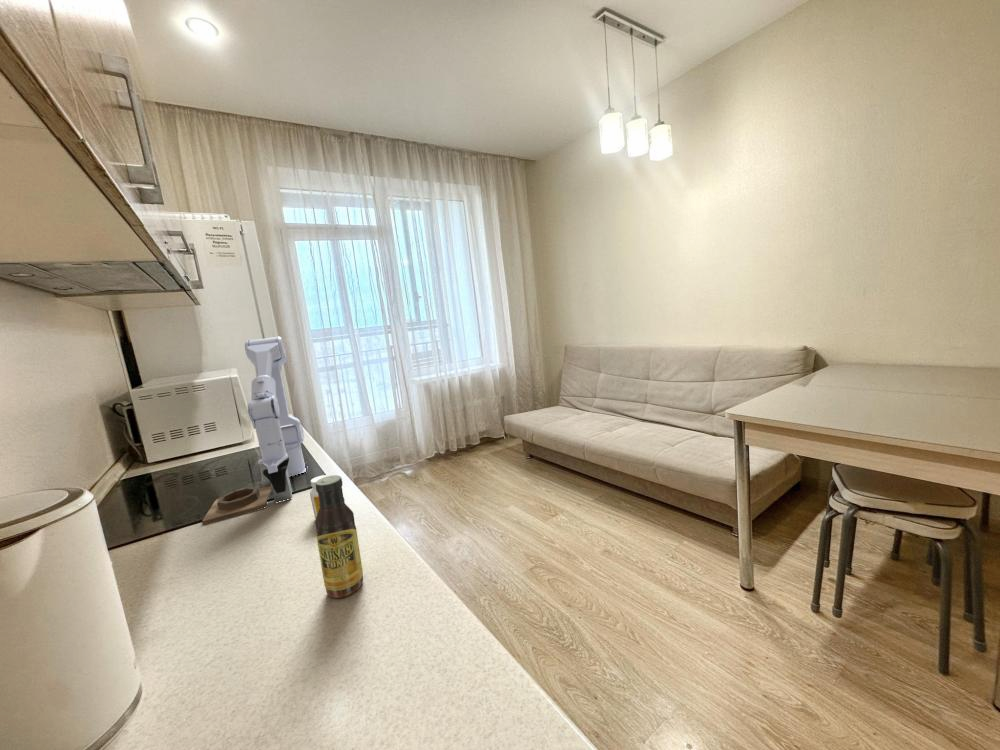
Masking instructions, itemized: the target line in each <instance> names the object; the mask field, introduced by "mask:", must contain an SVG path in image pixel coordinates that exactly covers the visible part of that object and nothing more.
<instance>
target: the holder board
mask: <svg viewBox="0 0 1000 750" xmlns="http://www.w3.org/2000/svg"><path fill="white" fill-rule="evenodd" d="M271 490H272V488H271V485H267V486H264V487H263V486H262V487H254V486H247V487H244V488H239V489H235V490H233V491H230V492H227V493H226V494H224V495H222V496H220V497H219V498H216V499H215V501H214V502H213V504H212V505H211V507H210V508H209V510H208V511H207V513H206V514H205V516H204V517H203V519H202V521H201V523H202V525H203V526H204V525H208V524H211V522H212V523H215V522H218V521H223V520H225V519H229V518H234V517H237V516H241V515H244V514H248V512H249V513H252V512H255V510H256V511H259V510H258V509H260V510H262V509H261V508H263V509H265V508H264V507H266V506H267V507H268V504H267V500H268V497H269V495H270V492H271ZM271 493H272V492H271ZM270 496H271V495H270ZM267 507H266V508H267ZM251 511H252V512H251ZM207 523H208V524H207Z"/></svg>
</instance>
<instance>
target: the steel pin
mask: <svg viewBox="0 0 1000 750" xmlns="http://www.w3.org/2000/svg"><path fill="white" fill-rule="evenodd" d="M290 480H291V479H290V477H289V474H288V470H287V469H286V475H285V481H286V490H285V492H281V493H276V491H275V490H274V488H273V486H272V484H271V482H270V481H269V483H270V486H271V488H272V492H271V493H272V496H273V500H274V504H275V503H276V502H279V501H283V500H287V499H291V498H292V499H293V496H292V492H293V489H292V484H291V481H290Z"/></svg>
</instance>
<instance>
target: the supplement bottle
mask: <svg viewBox="0 0 1000 750" xmlns="http://www.w3.org/2000/svg"><path fill="white" fill-rule="evenodd" d="M327 476H328V475H326V474H322V475H318V476H315V477H314V478H312V479H311V480H310V485H311V487H312V488H311V489H310V491H309V496H310V502H311V506H312V510H313V515H314V519H315V520H316V517H317V514H318V511H319V508H320V506H319V504H320V502H319V496H318V492H317V491H316V484H315V483H316V482H317V481H318V480H319V479H321V478H324V477H327Z"/></svg>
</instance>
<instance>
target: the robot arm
mask: <svg viewBox="0 0 1000 750" xmlns="http://www.w3.org/2000/svg"><path fill="white" fill-rule="evenodd" d="M244 350H245V355H246V357H247V358H248V360H249V361H250V362H251V364H252V365H253V366H254V369H255V376H256V377H255V378H253V379H252V380H251V390H250V391H251V395H250V396H251V400H250V402H248V403H247V413H248V418H249V420H250V422H251V425H252V427H253V429H255V433H256V438H257V441H258V442H257V443H258V446H259V451H260V455H261V458H262V459H258V461H257V465H261V464H262V465H264V466H265V467H266V469H263V470H262V475H264V477H265V478H266V479H267V480H268V481H269V483H270V482H271V483H270V485H271V484H272V486H273V488H274V490H275V491H276V493H281V492H285V490H286V481H285V475H286V469H287V470H288V474H289V478H291V476H292V477H295V475H296V476H299V475H298V474H300V475H302V474H301V473H304V472H306V468H305V463H306V462H305V459H304V454H303V449H302V446H301V445H302V443H304V442H305V433H304V429H303V425H302V422H301V420H300V419H299V418H297V417H296V416H294V415H290V412H289V411H290V410H289V405H288V400H287V395H286V389H285V384H284V379H283V373H282V369H283V368H282V366H283V365H284V364H285V363H287V361H288V360H287V359H288V357H287V352H286V346H285V342H284V340H283V337H281V336H279V335H278V336H275V337H267V338H266V337H265V338H259V339H247V340H246V341H245V343H244ZM306 473H307V472H306ZM304 474H305V473H304Z"/></svg>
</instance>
